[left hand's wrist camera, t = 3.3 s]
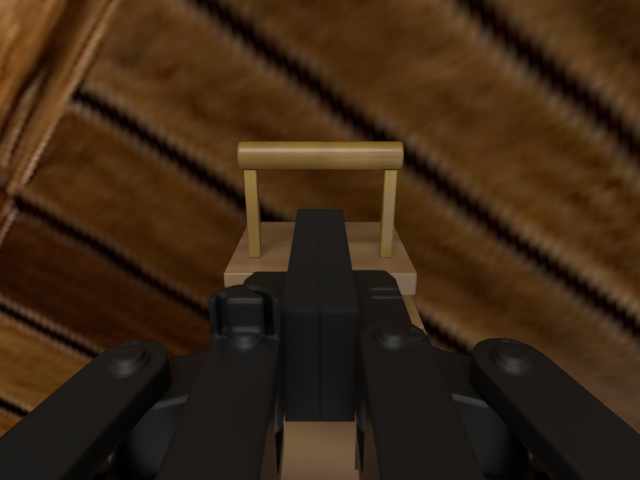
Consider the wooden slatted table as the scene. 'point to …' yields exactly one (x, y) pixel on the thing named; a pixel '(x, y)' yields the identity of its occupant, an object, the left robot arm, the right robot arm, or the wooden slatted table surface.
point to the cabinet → (326, 441)
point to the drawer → (363, 237)
